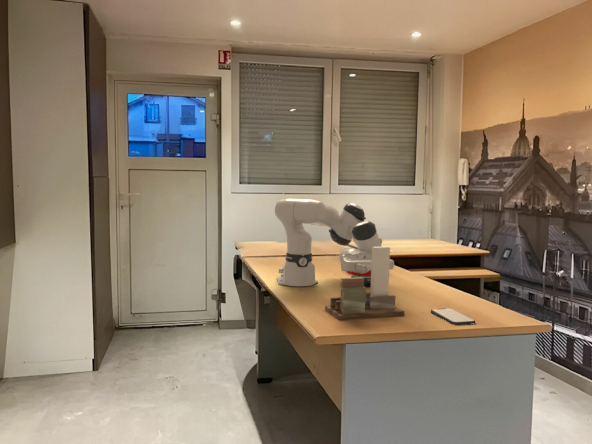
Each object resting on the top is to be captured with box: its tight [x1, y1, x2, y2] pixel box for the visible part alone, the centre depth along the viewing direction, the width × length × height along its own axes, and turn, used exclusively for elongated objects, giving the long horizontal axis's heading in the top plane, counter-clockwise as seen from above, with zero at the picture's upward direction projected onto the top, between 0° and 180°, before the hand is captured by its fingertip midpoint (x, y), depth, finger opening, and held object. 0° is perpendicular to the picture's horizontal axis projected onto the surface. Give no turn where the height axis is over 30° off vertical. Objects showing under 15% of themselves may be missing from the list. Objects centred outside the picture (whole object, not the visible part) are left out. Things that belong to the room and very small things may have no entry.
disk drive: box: [350, 275, 371, 288], centre depth 220 cm, size 10×3×15 cm
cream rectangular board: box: [369, 246, 391, 296], centre depth 172 cm, size 2×6×22 cm, turn 107°
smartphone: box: [430, 307, 476, 326], centre depth 166 cm, size 9×2×16 cm
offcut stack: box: [340, 277, 367, 314], centre depth 164 cm, size 3×8×12 cm, turn 107°
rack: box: [324, 292, 405, 321], centre depth 170 cm, size 14×25×6 cm, turn 107°
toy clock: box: [345, 270, 371, 277], centre depth 248 cm, size 20×6×20 cm
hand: (376, 267), depth 175 cm, fingers open, 8 cm apart
